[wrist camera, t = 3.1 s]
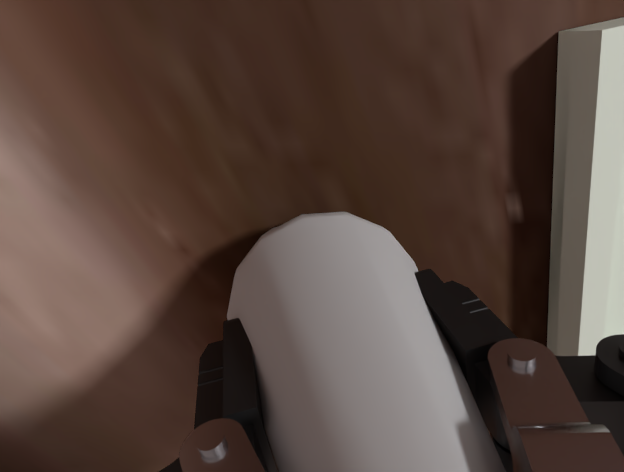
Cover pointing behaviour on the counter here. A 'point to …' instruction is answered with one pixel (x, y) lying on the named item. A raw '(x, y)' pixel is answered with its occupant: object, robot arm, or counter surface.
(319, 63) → the counter surface
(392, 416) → the salt shaker
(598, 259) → the tray
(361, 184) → the counter surface
